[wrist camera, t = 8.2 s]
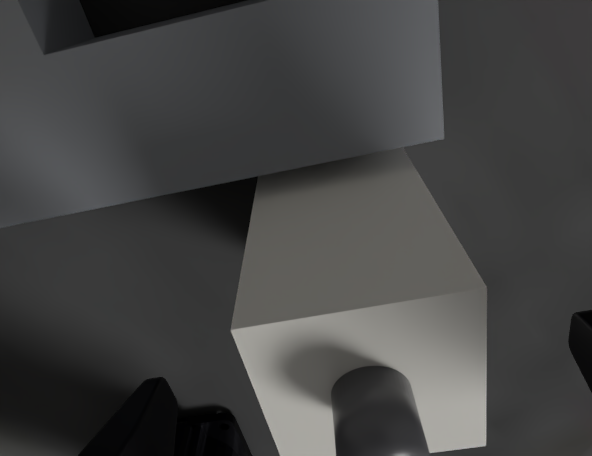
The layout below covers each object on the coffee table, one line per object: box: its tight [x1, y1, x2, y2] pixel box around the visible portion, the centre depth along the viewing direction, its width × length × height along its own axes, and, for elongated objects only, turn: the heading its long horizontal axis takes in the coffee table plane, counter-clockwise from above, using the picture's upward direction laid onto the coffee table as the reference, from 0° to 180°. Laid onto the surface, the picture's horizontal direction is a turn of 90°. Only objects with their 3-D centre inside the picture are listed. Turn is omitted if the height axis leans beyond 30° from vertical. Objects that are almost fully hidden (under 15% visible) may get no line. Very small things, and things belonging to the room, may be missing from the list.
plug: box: [231, 147, 487, 456], centre depth 12 cm, size 4×4×10 cm
